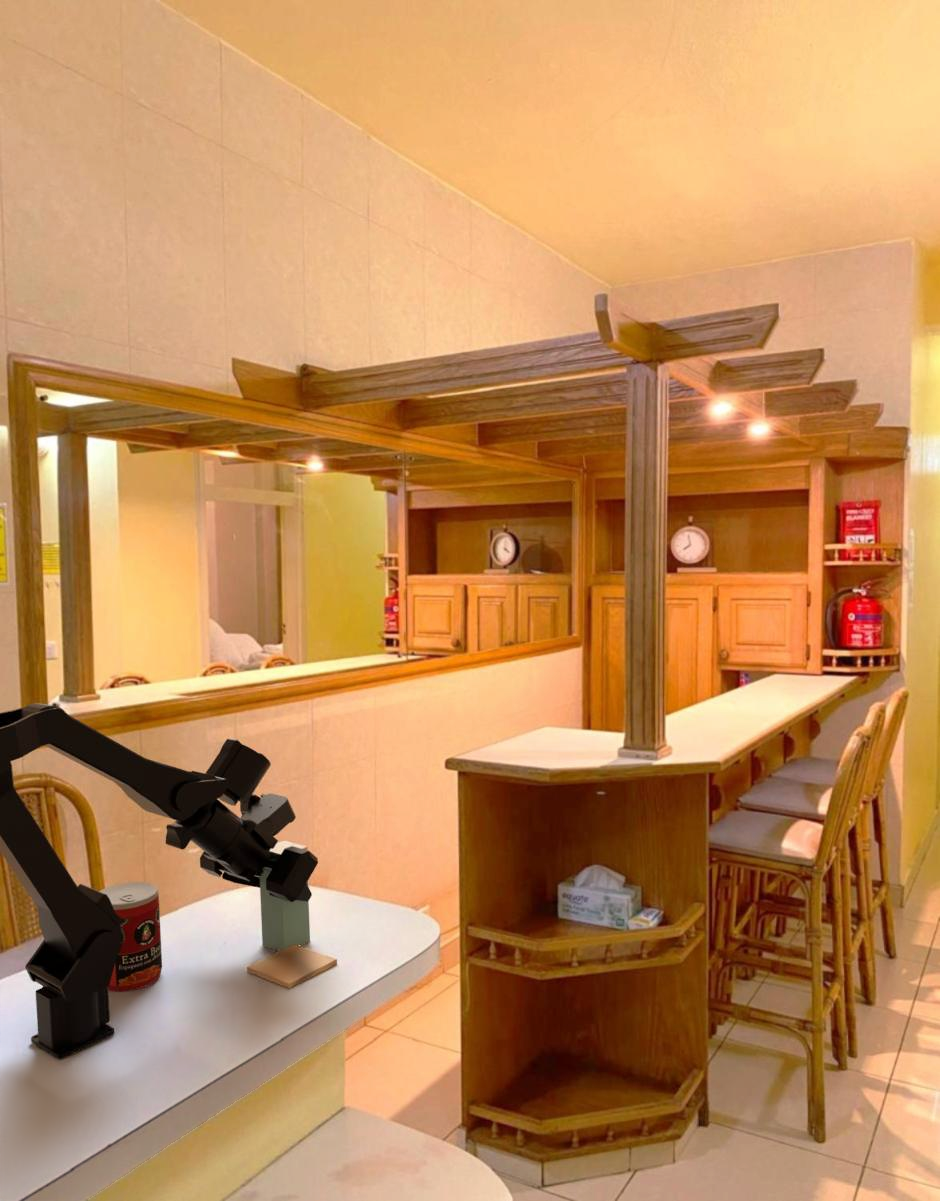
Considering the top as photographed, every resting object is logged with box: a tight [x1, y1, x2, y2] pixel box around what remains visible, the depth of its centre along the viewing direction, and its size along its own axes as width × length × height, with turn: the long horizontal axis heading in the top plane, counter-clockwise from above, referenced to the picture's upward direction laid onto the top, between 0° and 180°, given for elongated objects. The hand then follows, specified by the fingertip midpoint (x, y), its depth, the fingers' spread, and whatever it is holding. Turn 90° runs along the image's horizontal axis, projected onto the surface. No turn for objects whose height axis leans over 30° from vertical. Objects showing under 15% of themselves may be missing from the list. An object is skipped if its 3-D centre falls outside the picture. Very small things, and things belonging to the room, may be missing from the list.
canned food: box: [99, 881, 163, 992], centre depth 115 cm, size 8×8×11 cm
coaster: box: [246, 944, 338, 989], centre depth 117 cm, size 8×8×1 cm
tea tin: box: [259, 840, 311, 952], centre depth 124 cm, size 5×5×13 cm
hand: (294, 892), depth 125 cm, fingers open, 6 cm apart
